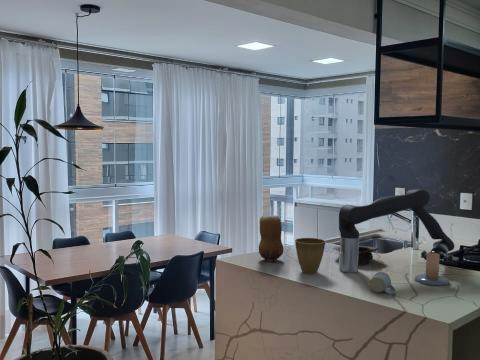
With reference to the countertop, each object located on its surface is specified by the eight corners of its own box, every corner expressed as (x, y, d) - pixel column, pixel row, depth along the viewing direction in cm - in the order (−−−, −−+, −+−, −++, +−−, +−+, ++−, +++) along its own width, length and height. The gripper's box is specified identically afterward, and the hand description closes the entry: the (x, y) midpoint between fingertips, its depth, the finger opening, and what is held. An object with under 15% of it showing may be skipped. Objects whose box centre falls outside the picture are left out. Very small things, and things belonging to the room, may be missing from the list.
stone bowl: (368, 268, 241) (368, 251, 240) (324, 264, 256) (324, 247, 255) (386, 258, 260) (385, 242, 260) (344, 255, 276) (343, 239, 275)
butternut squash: (266, 256, 264) (267, 212, 262) (287, 259, 257) (288, 214, 255) (253, 261, 253) (254, 215, 251) (274, 265, 246) (275, 218, 243)
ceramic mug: (368, 291, 205) (369, 274, 204) (373, 286, 212) (374, 270, 211) (392, 296, 199) (393, 279, 198) (397, 291, 206) (398, 274, 205)
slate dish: (419, 285, 215) (419, 282, 215) (411, 276, 230) (411, 273, 230) (453, 286, 213) (453, 284, 213) (442, 277, 228) (443, 274, 228)
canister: (427, 280, 219) (428, 254, 218) (423, 276, 225) (425, 252, 224) (439, 280, 218) (441, 255, 217) (436, 277, 224) (437, 252, 223)
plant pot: (330, 272, 233) (331, 241, 232) (311, 278, 224) (311, 245, 222) (307, 266, 245) (308, 236, 243) (288, 271, 235) (288, 239, 233)
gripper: (425, 243, 244) (419, 249, 230) (455, 246, 237) (451, 253, 223) (424, 257, 245) (419, 264, 231) (454, 261, 238) (450, 268, 224)
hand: (435, 259), depth 227 cm, fingers open, 8 cm apart
